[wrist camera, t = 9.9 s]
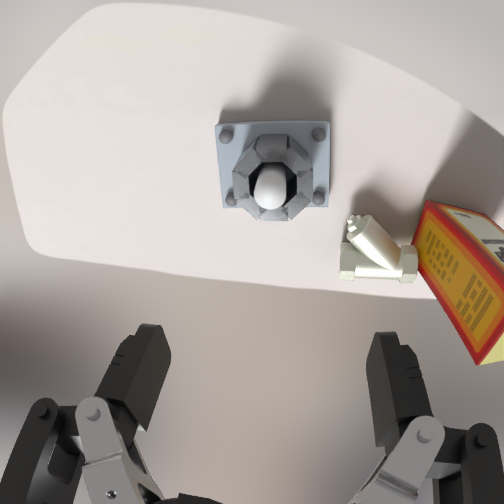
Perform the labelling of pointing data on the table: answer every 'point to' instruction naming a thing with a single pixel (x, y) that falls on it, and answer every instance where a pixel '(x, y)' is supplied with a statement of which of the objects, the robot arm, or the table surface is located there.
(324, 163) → the mounting base with peg
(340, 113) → the table surface
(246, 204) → the hub
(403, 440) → the robot arm
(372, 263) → the pipe fitting
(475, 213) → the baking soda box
